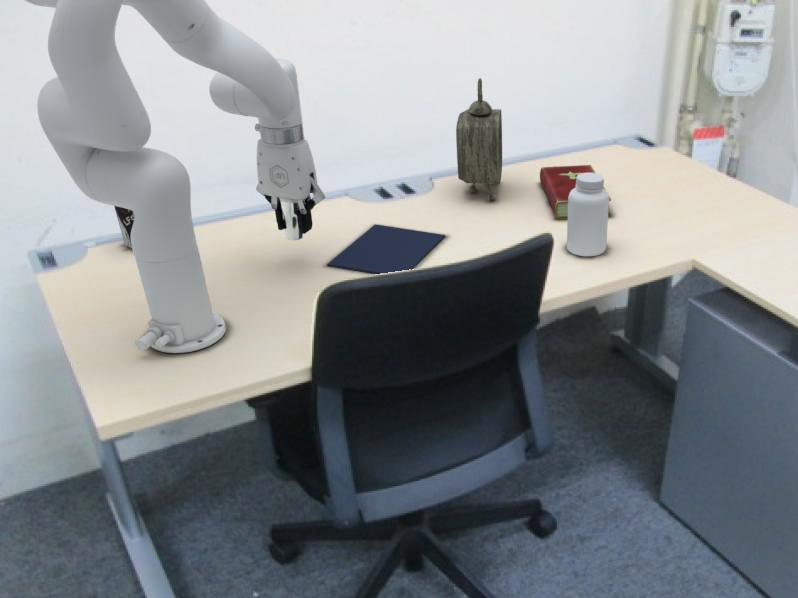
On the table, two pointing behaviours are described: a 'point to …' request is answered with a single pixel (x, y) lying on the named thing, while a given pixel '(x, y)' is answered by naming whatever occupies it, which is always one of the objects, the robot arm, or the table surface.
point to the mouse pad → (386, 250)
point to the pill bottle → (587, 216)
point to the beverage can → (125, 223)
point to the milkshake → (291, 218)
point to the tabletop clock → (479, 144)
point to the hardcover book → (561, 186)
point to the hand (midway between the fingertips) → (295, 228)
